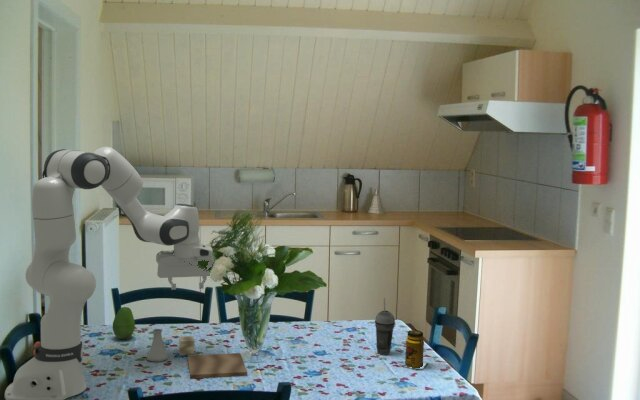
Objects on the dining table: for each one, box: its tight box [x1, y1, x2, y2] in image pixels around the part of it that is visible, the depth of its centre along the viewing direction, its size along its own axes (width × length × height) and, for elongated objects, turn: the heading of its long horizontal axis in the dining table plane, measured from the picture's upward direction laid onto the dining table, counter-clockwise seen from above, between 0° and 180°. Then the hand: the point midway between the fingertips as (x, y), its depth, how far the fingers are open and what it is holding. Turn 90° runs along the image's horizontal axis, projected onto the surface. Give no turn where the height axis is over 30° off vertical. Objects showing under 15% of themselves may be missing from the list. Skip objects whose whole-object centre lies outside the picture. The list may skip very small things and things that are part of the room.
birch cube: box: [178, 335, 195, 356], centre depth 241 cm, size 5×5×5 cm
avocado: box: [112, 306, 136, 340], centre depth 253 cm, size 8×8×12 cm
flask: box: [146, 328, 169, 362], centre depth 234 cm, size 7×7×10 cm
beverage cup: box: [374, 297, 396, 356], centre depth 246 cm, size 7×7×20 cm
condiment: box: [404, 329, 425, 368], centre depth 235 cm, size 7×8×12 cm
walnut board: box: [187, 352, 248, 380], centre depth 228 cm, size 18×18×1 cm
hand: (187, 288), depth 239 cm, fingers open, 8 cm apart
